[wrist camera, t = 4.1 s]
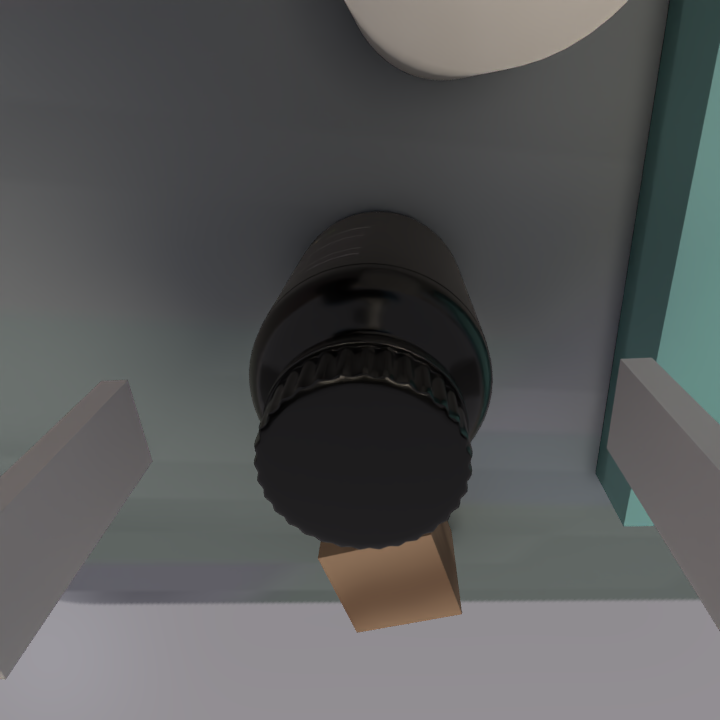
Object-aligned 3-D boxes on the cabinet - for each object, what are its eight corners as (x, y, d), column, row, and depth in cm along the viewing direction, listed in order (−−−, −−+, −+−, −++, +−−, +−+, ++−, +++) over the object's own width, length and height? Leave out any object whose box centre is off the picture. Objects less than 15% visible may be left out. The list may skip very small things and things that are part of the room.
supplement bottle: (493, 298, 22) (588, 496, 11) (369, 389, 24) (350, 624, 14) (387, 167, 20) (379, 256, 9) (262, 280, 22) (140, 456, 11)
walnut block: (330, 481, 27) (317, 558, 22) (424, 458, 26) (431, 534, 21) (362, 549, 29) (357, 632, 25) (451, 530, 28) (461, 613, 24)
